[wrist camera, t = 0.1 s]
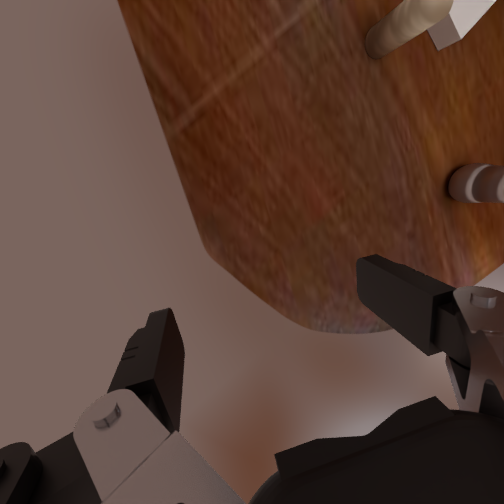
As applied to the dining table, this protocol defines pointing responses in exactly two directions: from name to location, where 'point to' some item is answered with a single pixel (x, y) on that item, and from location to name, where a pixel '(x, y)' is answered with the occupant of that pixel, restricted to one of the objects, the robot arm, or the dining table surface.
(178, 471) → the robot arm
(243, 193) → the dining table surface
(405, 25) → the peg
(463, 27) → the socket
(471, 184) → the plastic bottle
